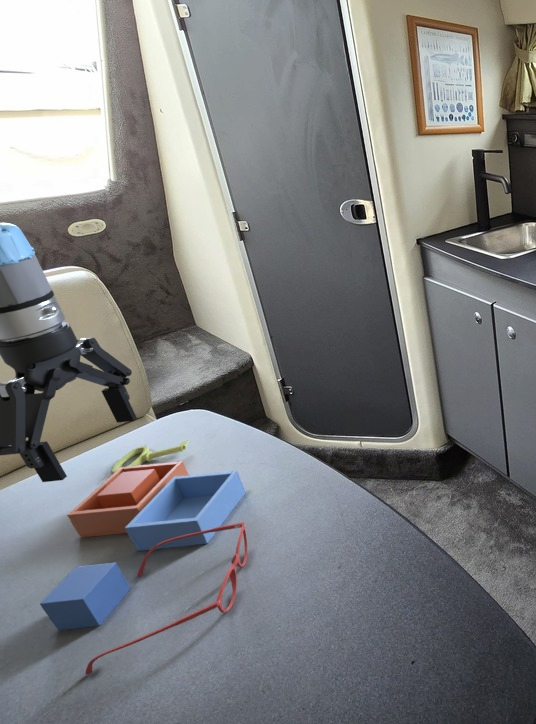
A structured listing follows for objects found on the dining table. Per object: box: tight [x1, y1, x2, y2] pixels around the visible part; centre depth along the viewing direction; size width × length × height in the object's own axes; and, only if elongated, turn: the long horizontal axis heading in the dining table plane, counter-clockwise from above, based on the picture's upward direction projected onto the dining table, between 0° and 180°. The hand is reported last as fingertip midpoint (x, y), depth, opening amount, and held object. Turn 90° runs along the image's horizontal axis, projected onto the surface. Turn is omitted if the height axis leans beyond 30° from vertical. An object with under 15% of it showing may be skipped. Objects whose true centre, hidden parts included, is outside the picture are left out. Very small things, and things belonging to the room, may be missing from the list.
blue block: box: [39, 562, 132, 631], centre depth 70 cm, size 6×6×6 cm
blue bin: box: [125, 470, 247, 552], centre depth 84 cm, size 11×11×5 cm
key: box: [111, 440, 190, 475], centre depth 100 cm, size 7×12×2 cm, turn 122°
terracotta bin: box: [66, 461, 190, 538], centre depth 87 cm, size 11×11×5 cm
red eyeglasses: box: [84, 521, 248, 675], centre depth 71 cm, size 17×16×5 cm
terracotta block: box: [97, 469, 160, 509], centre depth 87 cm, size 6×6×6 cm
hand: (94, 447), depth 79 cm, fingers open, 13 cm apart
